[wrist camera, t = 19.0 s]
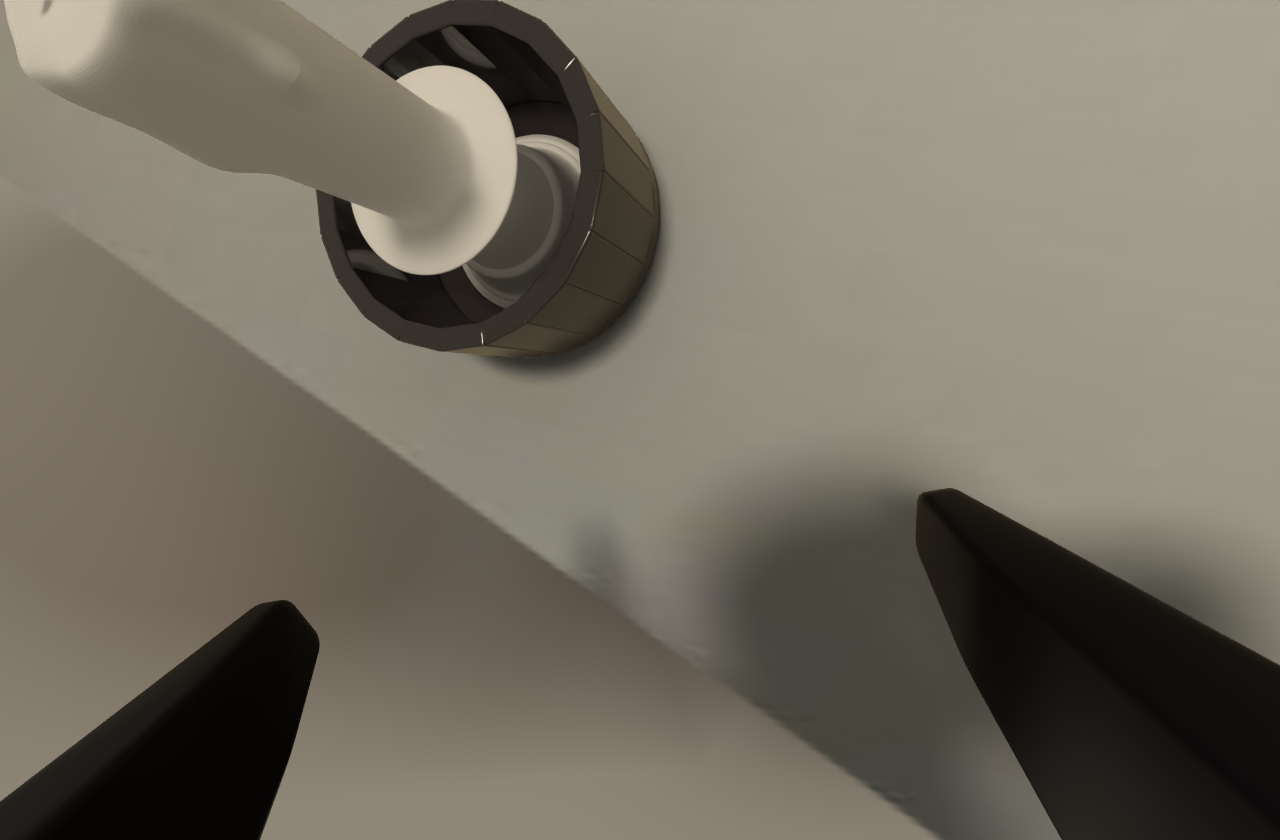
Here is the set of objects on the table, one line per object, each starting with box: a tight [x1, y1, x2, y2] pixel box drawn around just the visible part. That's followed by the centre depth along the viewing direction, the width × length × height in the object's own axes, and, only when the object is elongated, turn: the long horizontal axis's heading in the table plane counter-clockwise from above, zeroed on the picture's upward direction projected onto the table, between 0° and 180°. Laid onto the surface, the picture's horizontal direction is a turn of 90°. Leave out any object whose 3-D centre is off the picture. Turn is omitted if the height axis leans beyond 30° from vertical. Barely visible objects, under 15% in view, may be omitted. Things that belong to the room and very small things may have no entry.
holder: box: [316, 0, 659, 358], centre depth 16 cm, size 8×8×4 cm
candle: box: [4, 0, 581, 308], centre depth 12 cm, size 5×5×12 cm
